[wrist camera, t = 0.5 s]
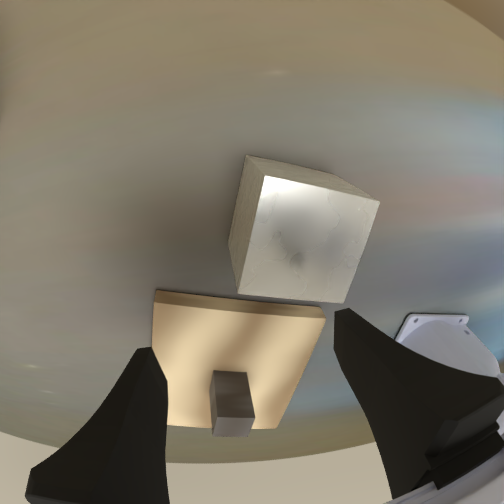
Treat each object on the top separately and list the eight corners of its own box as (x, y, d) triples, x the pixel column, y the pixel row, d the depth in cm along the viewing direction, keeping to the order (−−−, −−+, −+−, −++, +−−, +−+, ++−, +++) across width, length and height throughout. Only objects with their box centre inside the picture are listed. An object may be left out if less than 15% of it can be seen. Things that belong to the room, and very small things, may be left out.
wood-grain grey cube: (332, 174, 19) (380, 201, 14) (309, 253, 21) (343, 303, 16) (246, 154, 18) (264, 175, 13) (227, 242, 20) (237, 293, 15)
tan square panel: (319, 307, 24) (349, 361, 18) (273, 416, 29) (285, 465, 24) (156, 289, 21) (145, 349, 16) (152, 410, 26) (149, 463, 21)
